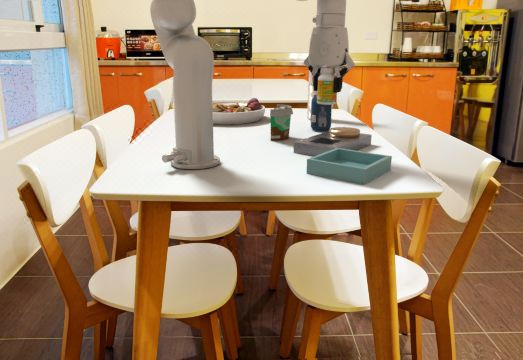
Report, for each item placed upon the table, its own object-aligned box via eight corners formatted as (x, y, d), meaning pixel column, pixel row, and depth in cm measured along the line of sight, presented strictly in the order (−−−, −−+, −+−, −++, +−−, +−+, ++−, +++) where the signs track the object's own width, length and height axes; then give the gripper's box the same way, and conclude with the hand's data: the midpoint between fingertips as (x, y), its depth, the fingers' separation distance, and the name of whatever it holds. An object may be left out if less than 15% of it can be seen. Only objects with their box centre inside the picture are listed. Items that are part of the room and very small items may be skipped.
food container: (289, 142, 148) (290, 110, 145) (269, 141, 149) (270, 109, 146) (294, 134, 160) (295, 104, 157) (276, 134, 161) (277, 104, 158)
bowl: (206, 129, 170) (205, 106, 168) (177, 117, 195) (176, 97, 193) (279, 122, 184) (279, 101, 182) (243, 111, 209) (243, 93, 207)
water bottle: (327, 118, 191) (330, 53, 183) (319, 121, 185) (322, 54, 178) (312, 117, 194) (314, 53, 187) (304, 119, 189) (306, 53, 181)
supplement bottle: (320, 105, 130) (321, 68, 127) (314, 102, 135) (315, 66, 132) (339, 104, 131) (341, 68, 128) (332, 102, 136) (334, 66, 133)
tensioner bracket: (334, 159, 128) (335, 142, 127) (293, 152, 136) (294, 136, 134) (370, 144, 146) (371, 129, 145) (332, 139, 153) (333, 125, 152)
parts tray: (364, 184, 107) (365, 169, 106) (306, 173, 115) (306, 159, 114) (390, 170, 118) (391, 156, 117) (336, 160, 127) (336, 147, 126)
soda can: (321, 127, 172) (322, 93, 169) (334, 130, 167) (336, 95, 163) (306, 129, 168) (307, 95, 165) (319, 133, 163) (320, 97, 159)
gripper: (295, 21, 129) (293, 90, 134) (353, 21, 119) (349, 95, 124) (310, 22, 135) (307, 88, 140) (366, 22, 125) (361, 92, 130)
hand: (327, 90), depth 132 cm, fingers closed on supplement bottle, 5 cm apart
